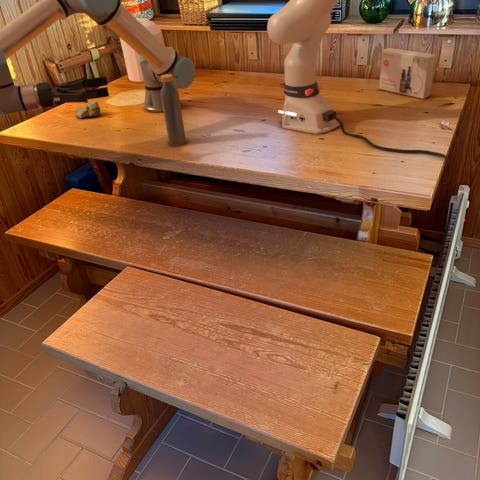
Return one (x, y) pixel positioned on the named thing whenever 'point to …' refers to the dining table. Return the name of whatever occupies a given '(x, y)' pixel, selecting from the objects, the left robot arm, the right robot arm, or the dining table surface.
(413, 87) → the skincare box
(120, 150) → the dining table surface
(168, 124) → the bottle
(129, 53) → the container
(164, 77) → the cap
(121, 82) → the dining table surface
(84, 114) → the rock
